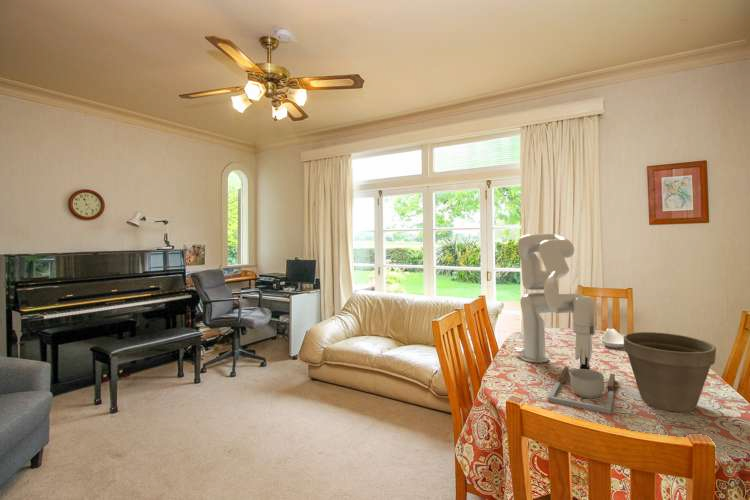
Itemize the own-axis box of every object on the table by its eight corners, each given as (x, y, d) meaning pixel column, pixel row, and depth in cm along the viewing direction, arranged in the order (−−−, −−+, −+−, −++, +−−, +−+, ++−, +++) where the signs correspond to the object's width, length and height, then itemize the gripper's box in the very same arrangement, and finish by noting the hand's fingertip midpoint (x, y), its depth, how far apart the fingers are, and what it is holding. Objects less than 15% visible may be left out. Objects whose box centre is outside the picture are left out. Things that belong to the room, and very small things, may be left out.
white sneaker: (629, 351, 187) (629, 337, 187) (602, 349, 192) (601, 335, 192) (621, 339, 208) (620, 326, 208) (596, 337, 213) (596, 325, 213)
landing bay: (547, 401, 132) (547, 397, 132) (556, 385, 145) (556, 381, 145) (610, 414, 121) (610, 409, 121) (613, 395, 134) (613, 391, 134)
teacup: (611, 400, 130) (610, 378, 130) (580, 401, 130) (580, 379, 130) (587, 385, 144) (587, 365, 144) (560, 386, 144) (559, 366, 144)
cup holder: (558, 383, 147) (558, 377, 147) (564, 372, 159) (564, 366, 159) (612, 393, 137) (612, 386, 137) (614, 380, 149) (614, 374, 149)
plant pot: (726, 428, 110) (725, 355, 110) (626, 410, 123) (624, 345, 123) (707, 397, 131) (706, 336, 131) (623, 384, 144) (622, 329, 144)
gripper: (575, 324, 151) (576, 369, 151) (570, 332, 139) (571, 380, 139) (597, 326, 146) (597, 372, 147) (593, 334, 134) (594, 384, 135)
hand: (585, 376), depth 143 cm, fingers closed
